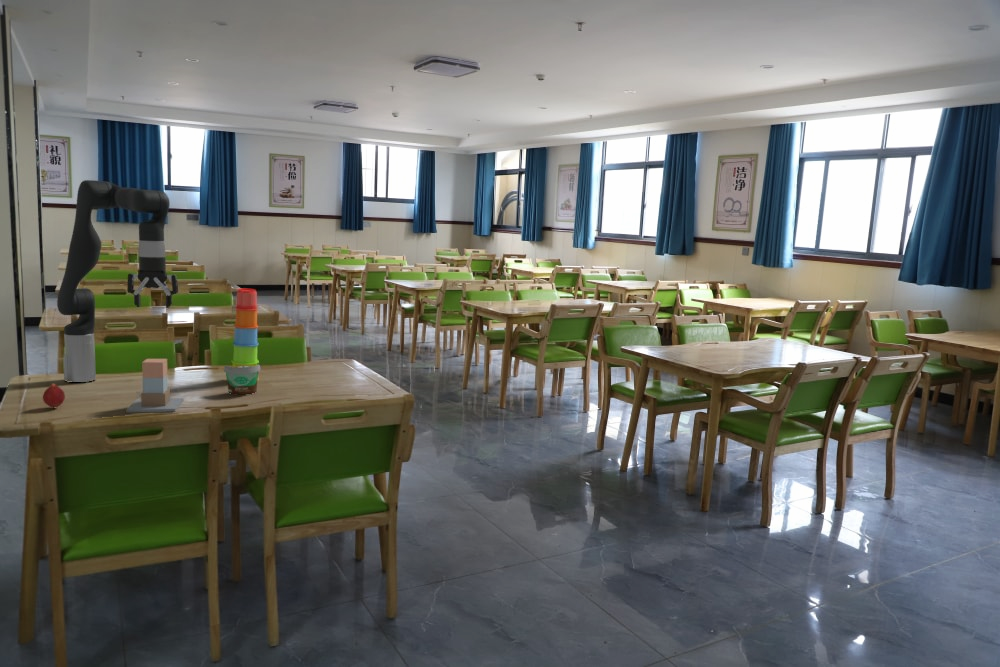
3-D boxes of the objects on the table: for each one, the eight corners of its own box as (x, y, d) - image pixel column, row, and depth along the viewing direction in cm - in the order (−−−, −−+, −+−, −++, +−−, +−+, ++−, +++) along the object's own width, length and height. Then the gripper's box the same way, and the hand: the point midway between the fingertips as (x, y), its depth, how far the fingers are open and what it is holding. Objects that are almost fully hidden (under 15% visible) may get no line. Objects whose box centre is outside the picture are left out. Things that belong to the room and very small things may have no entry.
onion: (49, 405, 230) (48, 380, 229) (68, 406, 231) (67, 381, 230) (39, 410, 225) (38, 385, 224) (59, 411, 225) (58, 385, 224)
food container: (226, 397, 251) (225, 368, 249) (223, 393, 256) (223, 365, 255) (263, 394, 257) (263, 366, 255) (260, 390, 262) (260, 363, 261)
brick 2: (143, 393, 231) (142, 378, 230) (147, 389, 237) (146, 373, 236) (163, 393, 233) (163, 377, 232) (167, 388, 238) (167, 373, 238)
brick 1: (142, 378, 230) (142, 362, 230) (147, 373, 236) (147, 358, 235) (163, 378, 232) (162, 362, 231) (167, 373, 237) (167, 358, 237)
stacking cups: (258, 376, 284) (258, 287, 278) (259, 382, 274) (258, 290, 269) (230, 377, 280) (229, 287, 275) (229, 383, 271) (228, 290, 266)
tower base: (126, 412, 227) (126, 396, 226) (137, 401, 241) (137, 386, 240) (175, 411, 230) (174, 396, 230) (183, 400, 244) (183, 386, 243)
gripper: (123, 255, 223) (125, 308, 225) (174, 256, 226) (175, 309, 229) (130, 253, 230) (131, 305, 233) (179, 255, 233) (180, 306, 236)
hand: (153, 307), depth 231 cm, fingers open, 8 cm apart
